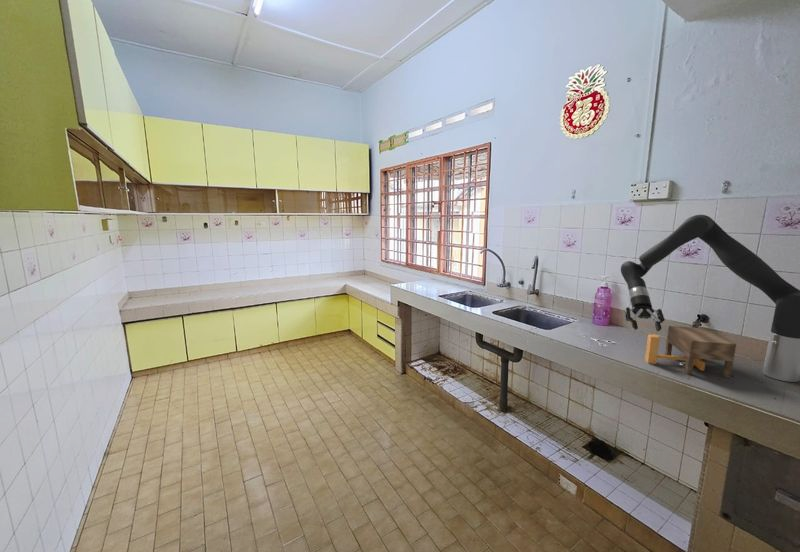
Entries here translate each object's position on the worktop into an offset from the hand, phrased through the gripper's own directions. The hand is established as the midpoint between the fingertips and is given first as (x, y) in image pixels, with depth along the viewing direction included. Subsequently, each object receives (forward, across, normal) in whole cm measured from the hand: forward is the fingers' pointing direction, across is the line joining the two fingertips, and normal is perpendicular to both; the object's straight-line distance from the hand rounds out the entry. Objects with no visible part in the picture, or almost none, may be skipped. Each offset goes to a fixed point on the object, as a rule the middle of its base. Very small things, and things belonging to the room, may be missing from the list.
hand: (647, 329), depth 146 cm
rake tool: (+13, +8, +4) cm, 16 cm away
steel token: (+14, +13, +4) cm, 19 cm away
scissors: (-2, -16, +21) cm, 27 cm away
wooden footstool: (+13, +16, +4) cm, 21 cm away
